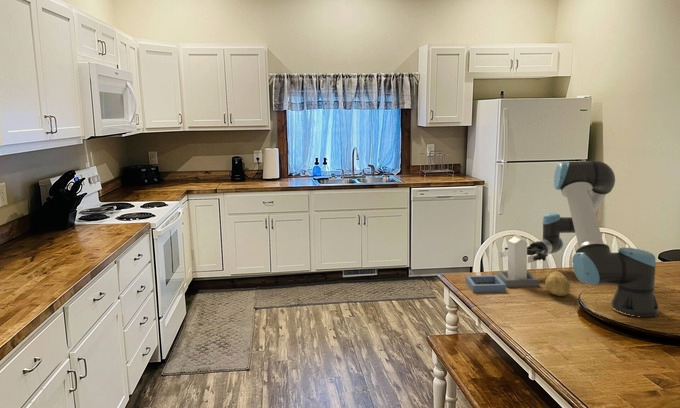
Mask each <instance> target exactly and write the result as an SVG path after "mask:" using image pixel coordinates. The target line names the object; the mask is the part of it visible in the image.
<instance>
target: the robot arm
mask: <svg viewBox="0 0 680 408" xmlns="http://www.w3.org/2000/svg"><path fill="white" fill-rule="evenodd" d="M553 177H554V178H553V187H554V189H556V190H558V191H560V190H561V195H562V196H563V197H565V198H567V199H566V200H567V203H568V207H569V211H570V216H571V217H567V216H565V217H563V216H561V214H559V213H556V212H552V213H551V212H547V213H545V214H543V217H542V218H543V219H542V239H541V240H540V239H539V240H538V241H534V242H532V243H531V244H529V246H528V245H527V264H530V263H533V262H536V261H541V260H542V261H543V262H544V261H546V259H547V257H548V256H549V255H551V254H554V253H555V254H556V253H557V252H559V251H561V250H562V249H563V247H564V242H563V240H562V238H561V235H560V234H565V233H567V234H572V233H575V236H576V241H577V245H578V247H577V249H576V250H575V253H574V255H573V256H572V269H573V272H574V275H575V276H576V278H577V280H579V281H580V283H582V284H586V285H587V284H588V285H616V287H617V288H616V291H615V293H614V295H613V298H612V300H611V302H610V305H612V307H613V308H615V309H616V310H618V311H621V312H623V313H626V314H630V315H634V316H640V317H650V318H654V317H653V316H655V317H657V316H658V315H659V309H660V308H659V305H658V301H657V299H656V296H655V278H656V267H657V265H656V262H657V261H656V256H655V255H654V254H653V252H650V251H646V250H645V249H639V248H634V247H633V248H632V247H619V248H618V252H611V249H610V246H609V245H608V244H606V243H604V241H603V237H602V233H601V230H600V226H599V222H598V218H597V214H596V213H597V211H598V209H599V207H600V206H601V204H602V202H603V201H604V199H605V197H606V196H607V195H608V194H609V193H611V192H612V190H613V189H614V186H615V185H616V184H615V183H616V176H615V173H614V171H613V169H612V168H611V167H610V166H609V164H607V163H605V162H603V161H601V160H584V161H582V160H581V161H579V160H578V161H569V160H568V161H561V162H559V163H558V164H557V165H556V167H555V170H554V175H553ZM505 257H508V247H505V248H504V250H501V251H500V258H505ZM640 317H639V318H640Z"/></svg>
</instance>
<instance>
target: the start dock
mask: <svg viewBox="0 0 680 408" xmlns="http://www.w3.org/2000/svg"><path fill="white" fill-rule="evenodd" d="M496 273H497V274H496V275H497V276H498V277H499V278H500V279H501V280H502V281H503V282H504V283H505V284H506V288H513V287H514V288H517V287H519V288H520V287H521V286H526V287H539V279H538V277H536V276H535V275H534V274H532V273H531V272H530V271H529V270H527V279H508V270H502V271H498V270H497V271H496ZM521 288H522V287H521Z"/></svg>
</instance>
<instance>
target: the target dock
mask: <svg viewBox="0 0 680 408" xmlns="http://www.w3.org/2000/svg"><path fill="white" fill-rule="evenodd" d="M476 282H477V283H476ZM478 282H487V283H478ZM489 282H494V283H490V284H489ZM465 283H466V285H467V284H468V285H467V286H468V288H469V287H470V288H471V289H470V288H469V289H470V290H471V292H472V291H473V292H472V293H495V292H496V293H501V292H507V287H506V284H505V283H504V282H503V281H502V280H501V279H500V278H499V277H498V276H497V274H495V275H493V274H492V275H491V274H490V275H466V276H465Z"/></svg>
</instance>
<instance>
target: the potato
mask: <svg viewBox="0 0 680 408" xmlns="http://www.w3.org/2000/svg"><path fill="white" fill-rule="evenodd" d="M544 285H545V289H546V290H547V291H549V293H551V294H552V295H554V296H558V297H562V296H563V297H564V296H567V294H568V293H570V288H571V287H570V286H571V285H570V281H569V279H568V278H567V277H566V276H565V275H564V274H563V273H562V272H560V271H558V270H557V271H556V270H555V271H552V272H551V273H549V274H548V276H547V277H546V279H545V282H544Z"/></svg>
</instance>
